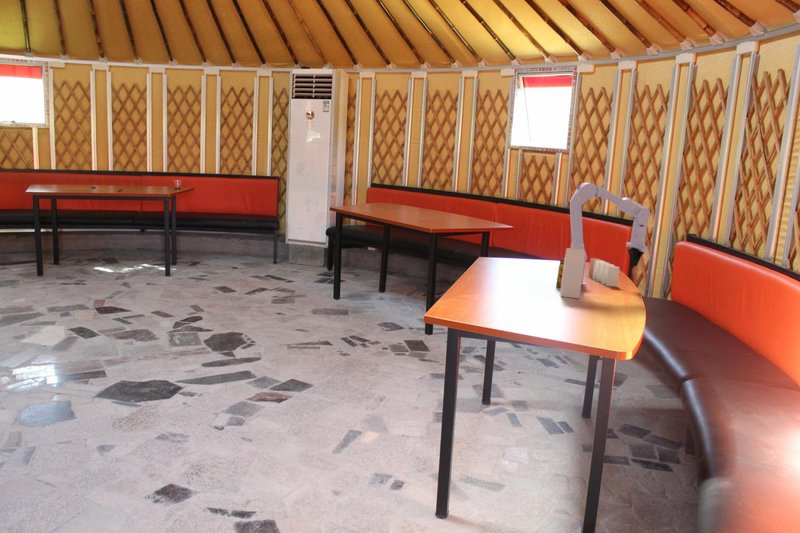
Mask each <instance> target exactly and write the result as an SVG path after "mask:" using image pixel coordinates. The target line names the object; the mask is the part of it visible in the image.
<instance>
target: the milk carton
mask: <svg viewBox="0 0 800 533" xmlns="http://www.w3.org/2000/svg"><path fill="white" fill-rule="evenodd" d="M585 252H586V250H585V249H584V250H581V249H571V247H566V248H565V253H564V259H563V260H564V266H563V274H562V282H561V288H559V289H560V291H559V294H560V297H565V298H573V299H580V297H581V296H580V295H581V290H582V288H581V287H582V285H581V282H582V275H583V268H584V263H585V262H584V258H585Z"/></svg>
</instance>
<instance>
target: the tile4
mask: <svg viewBox="0 0 800 533" xmlns="http://www.w3.org/2000/svg"><path fill="white" fill-rule="evenodd" d="M599 262H603V263H606V261H605V260H600V261H598V260H595V263H594V271H593V279H597V276H598V269H599Z"/></svg>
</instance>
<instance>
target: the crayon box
mask: <svg viewBox="0 0 800 533" xmlns="http://www.w3.org/2000/svg"><path fill="white" fill-rule="evenodd" d="M559 260H560V262H559V265H558V269H557V271H558V272H557V278H556V284H555V287H556V288H557V289H561V282H562V274H563V266H564V259H559Z"/></svg>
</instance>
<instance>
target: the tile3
mask: <svg viewBox="0 0 800 533" xmlns="http://www.w3.org/2000/svg"><path fill="white" fill-rule="evenodd" d="M604 264H608V265H611V263H610V262H605V263H603V262H599V269H598V276H597V281H602V275H603V268H604Z"/></svg>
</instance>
